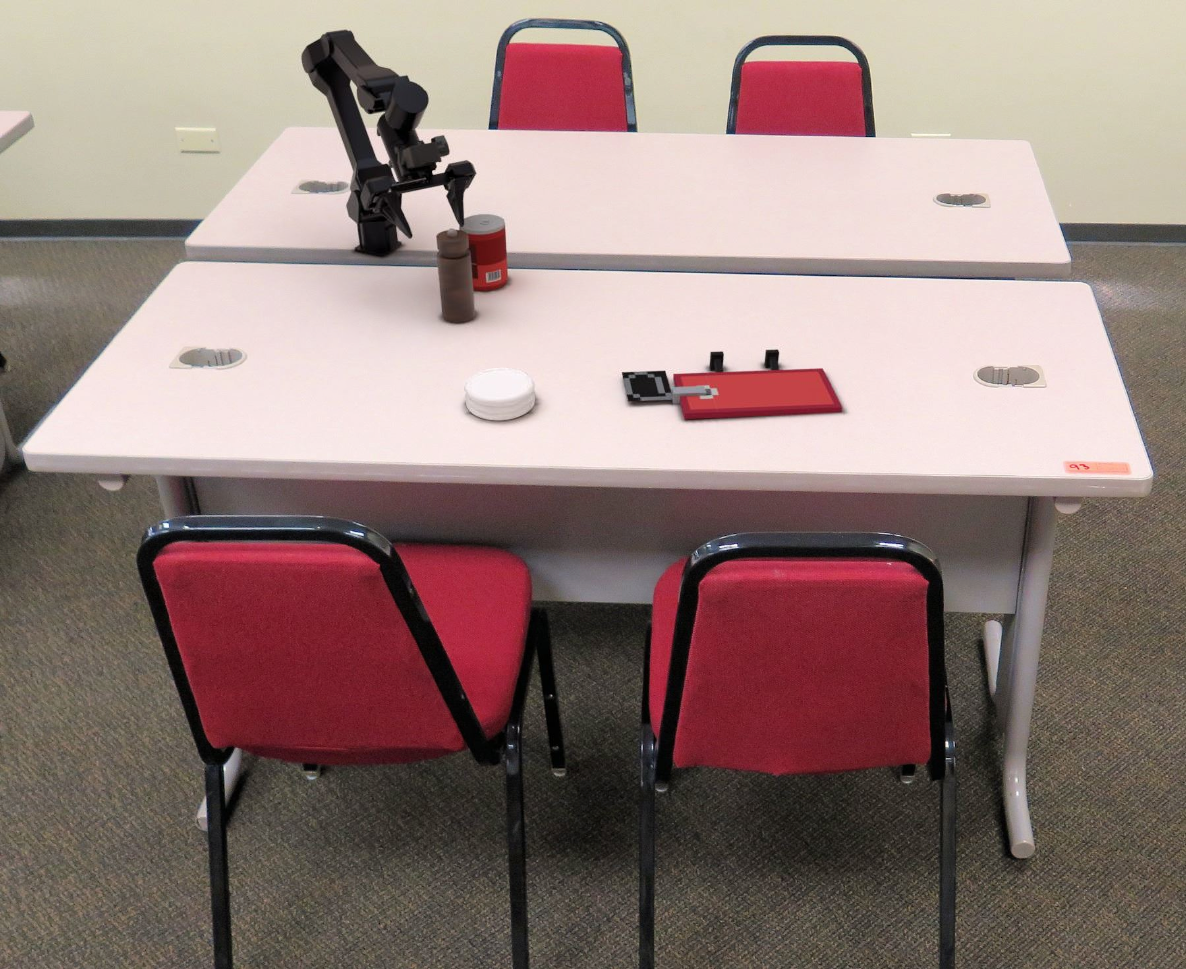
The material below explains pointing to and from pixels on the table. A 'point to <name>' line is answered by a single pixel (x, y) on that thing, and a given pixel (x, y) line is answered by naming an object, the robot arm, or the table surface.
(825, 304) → the table surface
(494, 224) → the canned food
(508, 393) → the coaster
